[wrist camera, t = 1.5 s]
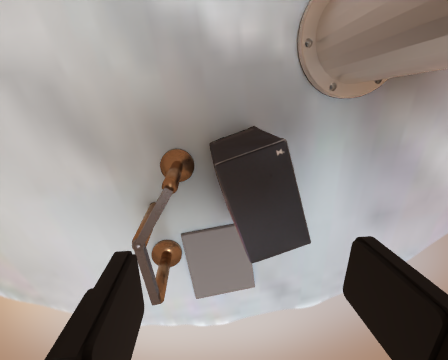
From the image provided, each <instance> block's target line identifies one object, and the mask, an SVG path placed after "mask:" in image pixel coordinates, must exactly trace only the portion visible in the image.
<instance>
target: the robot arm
mask: <svg viewBox="0 0 448 360" xmlns="http://www.w3.org/2000/svg"><path fill="white" fill-rule="evenodd" d="M305 43H306V44H307V47H306V46H305ZM298 51H299V57H300V62H301V65H302V68H303V71H304V73H305V75H306V76H307V78H308V80H309V81H310V82H311V83H312V84H313V86H314V87H315V88H316V89H318V90H319V91H321V92H322V93H324V94H326V95H328V96H331V97H335V98H354V97H360V96H363V95H365V94H368V93H370V92H372V91H373V90H375V89H377V88H378V87H380V86H381V85H382V84H383V83H384V82H386V81H387V80H388V78H393V77H399V76H406V75H412V74H418V73H425V72H431V71H437V70H444V69H448V0H310V2H309V4H308V6H307V8H306V10H305V12H304V15H303V18H302V21H301V24H300V30H299V36H298ZM329 86H330V89H329ZM343 293H344V296H345V297H346V299H347V300H348V301H349V303H350V304H351V306H352V307H353V308H354V310H355V311H356V312H357V314H358V315H359V316H360V318H361V319H362V320H363V322H364V323H365V324H366V326H367V327H368V329H369V330H370V331H371V332H372V334H373V335H374V336H375V338H376V339H377V341H378V342H379V343H380V344H381V346H382V347H383V348H384V350H385V351H386V353H387V354H388V355H389V357H390V358H391V359H392V360H448V294H446V293H445V292H444V291H442V290H441V289H440V288H439V287H437V286H436V285H435V284H433V283H432V282H431V281H430V280H428V279H427V278H426V277H424V276H423V275H422V274H420V273H419V272H418V271H417V270H415V269H414V268H413V267H411V266H410V265H409V264H407V263H406V262H405V261H404V260H402V259H401V258H400V257H398V256H397V255H396V254H395V253H393V252H392V251H391V250H389V249H388V248H387V247H385V246H384V245H383V244H382V243H380V242H379V241H378V240H376V239H375V238H374V237H371V236H368V237H358V238H356V240H355V241H353V243H352V247H351V252H350V257H349V261H348V266H347V271H346V276H345V280H344V285H343ZM143 314H144V300H143V294H142V288H141V281H140V275H139V268H138V262H137V256H136V255H135V254H133V255H132V252H131V251H121V252H115V253H114V254H113V256H112V258H111V260H110V261H109V263H108V265H107V266H106V268H105V270H104V271H103V273H102V275H101V277H100V278H99V280H98V282H97V283H96V285H95V287H94V288H93V289H89V290H88V291H87V292H86V293H85V295H84V297H83V298H82V300H81V301H80V303H79V305H78V306H77V308H76V309H75V311H74V313H73V314H72V316H71V318H70V319H69V321H68V322H67V324H66V326H65V327H64V329H63V331H62V332H61V334H60V336H59V337H58V339H57V340H56V342H55V344H54V345H53V347H52V348H51V350H50V352H49V353H48V355H47V357H46V358H45V360H131V357H132V354H133V350H134V346H135V343H136V339H137V336H138V332H139V329H140V325H141V321H142V318H143Z"/></svg>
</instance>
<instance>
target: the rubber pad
mask: <svg viewBox="0 0 448 360" xmlns="http://www.w3.org/2000/svg"><path fill="white" fill-rule="evenodd" d="M181 238H182V242H183V246H184V250H185V254H186V259H187V263H188V267H189V271H190V275H191V279H192V283H193V288H194V292H195V296H196V299H199V298H204V297H209V296H214V295H219V294H224V293H228V292H233V291H238V290H243V289H248V288H253V287H255V284H254V276H253V268H252V263H250V261H249V258H248V256H247V254H246V252H245V249H244V247H243V245H242V242H241V240H240V237H239V235H238V232H237V230H236V227H235V225H234V224H231V225H225V226H220V227H215V228H209V229H204V230H199V231H193V232H188V233H183V234H181Z"/></svg>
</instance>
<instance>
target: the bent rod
mask: <svg viewBox="0 0 448 360" xmlns="http://www.w3.org/2000/svg"><path fill="white" fill-rule="evenodd" d="M160 168H161V172H162V174H163V175H164V176H165V179H164V181H163V184H162V189H163V191H162V193H161V195H160V196H159V198H158V200H157V202H154V203H151V204H150V206H149V208H148V210H147V212H146V214H145V216H144V218H143V220H142V222H141V224H140V226H139V228H138V230H137V232H136V234H135V236H134V238H133V240H132V248H133V249H134V251H135V254H136V256H137V260H138V263H139V266H140V270H141V273H142V276H143V279H144V282H145V285H146V288H147V291H148V294H149V297H150V300H151V303H152V305H157V304H161V303H162V302H163V301H164V297H165V292H166V286H167V280H168V275H169V269H170V267H172V266H174V265H176V264H177V263H178V262H179V261H180V259H181V256H182V250H181V247H180V246H179V244H177V243H176V242H174V241H171V240H163V241H160V242H158V243H157V244H156V245H155V246H154V248H153V251H152V259H153V261H154V262H155V263H156V264H157V265H159V266H158V270H157V274H156V278H155V275H154V272H153V269H152V265H151V262H150V259H149V256H148V252H147V249H146V246H147V243H148V241H149V238H150V235H151V233H152V230H153V227H154V226H155V224H156V222H157V220H158V218H159V217H160V215H161V213H162V211H163V209H164V207H165V206H166V204H167V202H168V200H169V198H170V196H171V195H172V194H173V193H175V192H176V191H177V189H178V185H179V182H182V181H185V180H187V179H188V178H189V177H190V176H191V175H192V173H193V170H194V161H193V159H192V157H191V155H190V154H189V153H187V152H186V151H184V150H181V149H173V150H170V151H168V152H167V153H166V154H165V155H164V156H163V157H162V159H161V162H160Z"/></svg>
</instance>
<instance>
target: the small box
mask: <svg viewBox="0 0 448 360" xmlns="http://www.w3.org/2000/svg"><path fill="white" fill-rule="evenodd" d="M210 149H211V154H212V159H213V163H214V168H215V171H216V175H217V178H218V181H219V184H220V187H221V190H222V193H223V196H224V199H225V202H226V205H227V208H228V210H229V212H230V215H231V217H232V220H233V222H234V225H235V227H236V230H237V232H238V235H239V237H240V240H241V242H242V245H243V247H244V249H245V252H246V254H247V256H248V258H249V261H250V263H255V262H258V261H261V260H264V259H267V258H270V257H273V256H276V255H279V254H281V253H284V252H287V251H290V250H293V249H296V248H298V247H301V246H304V245H307V244H310V243H311V240H310V236H309V232H308V228H307V223H306V219H305V215H304V211H303V207H302V202H301V198H300V194H299V190H298V186H297V182H296V177H295V173H294V169H293V165H292V161H291V157H290V153H289V149H288V145H287V141H286V140H285V139H283V138H279V137H277V136H274V135H272V134H270V133H267V132H265V131H262V130H260V129H258V128H256V127H254V126H253V127H250V128H248V129H247V130H243V131H241V132H238V133H236V134H233V135H229V136H227V137H225V138H224V137H223V138H220V139H218V140H216V141H214V142H211V143H210Z"/></svg>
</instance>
